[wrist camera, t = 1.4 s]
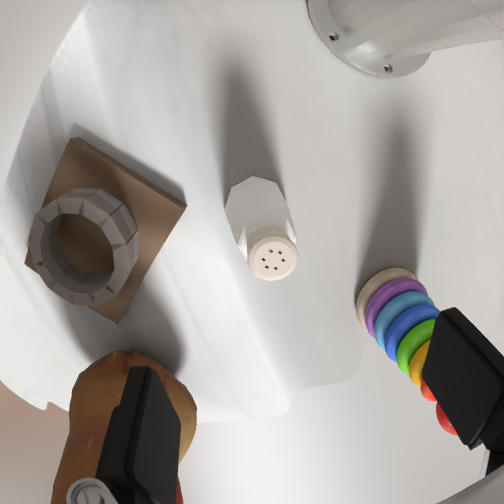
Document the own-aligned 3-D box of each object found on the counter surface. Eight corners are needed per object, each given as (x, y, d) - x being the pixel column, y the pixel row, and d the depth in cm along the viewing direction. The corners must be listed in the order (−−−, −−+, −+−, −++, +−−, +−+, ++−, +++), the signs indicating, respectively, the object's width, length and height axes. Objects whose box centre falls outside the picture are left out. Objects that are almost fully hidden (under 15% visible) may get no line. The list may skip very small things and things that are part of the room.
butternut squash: (214, 397, 36) (219, 588, 13) (127, 412, 37) (97, 572, 14) (166, 314, 31) (118, 569, 8) (70, 339, 31) (-10, 522, 8)
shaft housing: (77, 137, 23) (50, 142, 18) (186, 205, 26) (178, 223, 22) (31, 257, 27) (6, 279, 22) (121, 315, 30) (108, 345, 26)
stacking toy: (345, 327, 33) (414, 469, 16) (363, 262, 30) (472, 399, 13) (402, 325, 34) (481, 442, 17) (423, 266, 31) (533, 375, 14)
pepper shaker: (259, 246, 28) (277, 317, 18) (211, 211, 27) (202, 268, 17) (299, 201, 27) (341, 251, 17) (251, 162, 25) (268, 190, 15)
